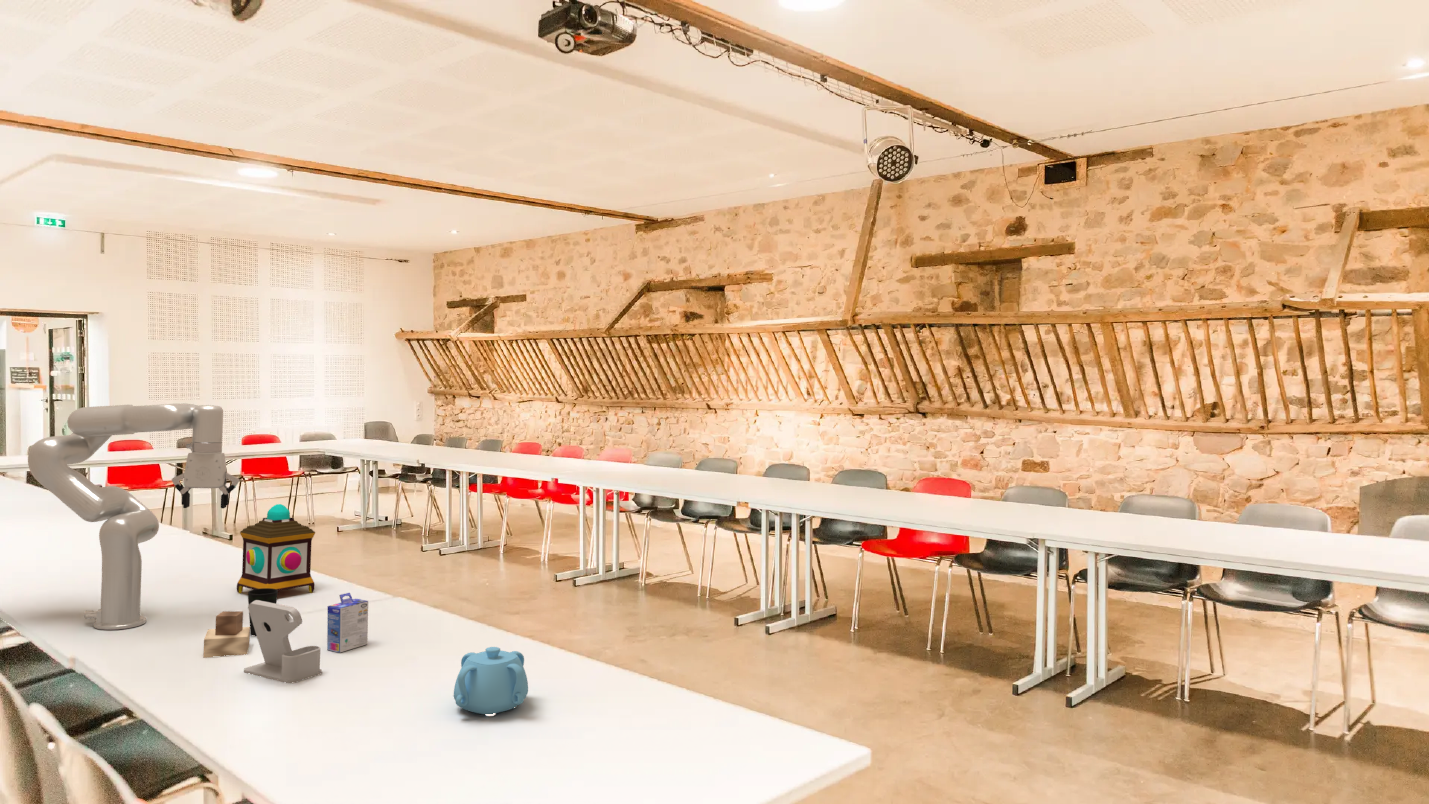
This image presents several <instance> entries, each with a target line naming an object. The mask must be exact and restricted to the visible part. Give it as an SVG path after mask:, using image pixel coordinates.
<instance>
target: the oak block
mask: <svg viewBox="0 0 1429 804" xmlns="http://www.w3.org/2000/svg"><path fill="white" fill-rule="evenodd" d="M215 629H216V628H210V629H207V631H206V633H205V636H204V638H203V655H202V656H203V658H205V659H207V658H214V657H213V656H220V657H227V656H226V655H234V656H243V655H244V654H245V655H246V654H247V655H248V653H247V652H249V647H250V641H251V640H250V638H251V637H250V636H251V634H250V626H243V630H242V631H240V632H239V633H238V634H237V635H215ZM224 655H225V656H224ZM247 655H246V656H247Z"/></svg>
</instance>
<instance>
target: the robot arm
mask: <svg viewBox="0 0 1429 804" xmlns="http://www.w3.org/2000/svg"><path fill="white" fill-rule="evenodd" d="M223 426H224V409H223V407H222V406H220V405H211V404H210V405H209V404H206V405H204V404H200V405H199V404H194V403H193V404H191V403H186V402H185V403H164V404H151V405H147V404H146V405H133V404H117V405H100V406H97V405H96V406H86V407H85V406H84V407H79V408H77V409H75V410H73V411H72V412H71V413H70V414H69V416H68V418H67V427H68V429H69V430H70V431H71V432H72V433H71V434H65V435H54V436H48V437H45V438H44V437H43V438H41V439H39V440H37V441H36V442H35V443H34V444H32V445H31V447H30V449H29V452H28V454H27V466H28V468H29V471H30V474H31V475H32V476H33V478H34V479H35V480H36V481H37V482H38V483H39V484H40V485H42V487H44V488H45V489H46V490H48V491H49V492H50V493H51V494H53V495H54V496H55V497H56V498H57V499H59V500H60V502H61V503H63V504H64V505H65V506H67V507H68V508H69V509H70V510H71V511H72V512H74V513H75V514H76V515H78V517H80V518H81V519H82V520H83V521H85V522H88V523H97V522H98V523H99V522H102V521H104V522H103V523H102V524H101V527H100V529H99V533H98V538H99V539H98V540H99V545H100V551H101V586H100V587H101V588H100V590H101V591H100V592H101V593H100V608H99V609H97V610H85V611H84V613H83V614H84V615H83V616H84V618H85V619H95V621H94V622H93V626H92V627H93V628H95V629H98V630H104V631H105V630H106V631H110V630H111V631H112V630H124V629H130V628H136V627H139V626H142V625H144V624H145V623H146V622H147V617H146V616H145V615H141V602H142V601H141V596H142V594H141V593H142V570H143V569H142V565H143V560H142V554H141V550H140V548H139V544H141V543H144V542H147V541H150V540H152V539H153V538H154V537H155V536H157V534H158V532H159V529H160V524H159V519H158V517H157V516H156V515H155V513H153V511H152V510H150V509H149V508H148V507H147V506H146V505H144V504H143V503H142V502H141V501H140V500H138V499H137V498H136V497H135V496H134V495H133V494H131V493H130V492H129V491H128V490H126V489H124V488H123V487H120V486H119V487H118V486H115V485H109V486H101V487H100V486H98V485H96V484H94V483H93V482H92V481H91V480H89V479H88V478H87V476H85V475H84V474H82V473H81V472H79V471H77V470H76V469H73V468H72V467H70V466H69V465H75V464H79V463H84V462H85V461H87V460H89V458H91V457H92V456H94V454H95V453H96V452H97V451H98V450H99V449H100V448H101V447H102V446H103V445H104V444H106V442H107V441H109V439H110V438H111V437H112V436H121V435H122V436H123V435H124V436H126V435H135V434H136V433H150V432H151V433H152V432H169V431H170V432H171V431H172V432H173V431H181V430H182V431H183V430H191V429H192V432H191V433H192V437H191V442H190V443H186V446H185V448H186V449H190V451H191V452H188V454H187V457H186V461H185V462H186V463H185V467H184V472H183V473H181V474H179V475H176V476H174V477H172V478H171V482H172V483H173V485H174V488H175V489H176V490H177V491H178V492H179V493H180V494H181V505H182V506H183V509H187V508H189V507H190V504H191V498H190V497H191V494H190V492H189V491H191V489H218V490H220V492H221V493H222V494H221V495H220V508H221V509H226V508H227V506H228V505H229V500H230V499H229V498H230V497H229V496H230V493H232V491H234V490H235V489H236V487H237V485H238V484H239V482H240V481H241V480H240V478H238V477H236V476H235V475H233V474H230V473H228V471H227V462H226V456H225V452H223ZM181 480H183V485H184V486H183V485H182V484H181V482H180V481H181ZM227 480H229V481H231V482H232V483H231V484H230V486H227Z"/></svg>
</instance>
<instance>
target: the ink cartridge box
mask: <svg viewBox="0 0 1429 804" xmlns="http://www.w3.org/2000/svg"><path fill="white" fill-rule="evenodd" d="M338 595H339V599H340V602H338V603H335V604H331V605H328V606H327V622H326V623H327V633H326V634H327V635H326V637H327V638H326V640H327V641H326V643H327V644H326V645H327V646H326V649H327V651H330V652H335V653H343V652H346V651H349V650H353V649H355V648H359V647H362V646H365V645H368V637H369V636H368V635H369V634H368V633H369V630H368V629H369V627H368V625H369V600H367V599H366V600H365V599H361V598H353V597H352V594H351V592H346V593H341V594H338ZM345 597H348V598H345ZM343 598H345V599H343Z"/></svg>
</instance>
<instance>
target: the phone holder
mask: <svg viewBox="0 0 1429 804" xmlns="http://www.w3.org/2000/svg"><path fill="white" fill-rule="evenodd" d="M247 609H248V614H249V613H250V616H251V619H252V622H253V626H254V629H255V632H256V635H257V636H256V638H257V641H258V645H259V648H260V651H261V654H262V658H263V660H264V662H260V663H258V664H254V665H251V666H247V667H245V668H244V669H243V673H245V674H248V673H250V674H249V675H252V674H253V676H255V677H256V676H257V677H260V676H261V678H264V679H268V680H272V679H273V681H277V682H282V683H284V682H286V683H285V684H293V683H292V682H295V683H297V681H298V682H300V680H301V681H303V680H302V679H304V680H306V678H307V679H309V678H308V677H310V678H312V677H311V676H313V677H315V675H316V676H319V675H321V674H322V671H323V670H322V669H321V647H320V646H317V645H307V646H304V647H299V648H297V649H294V650H293V649H292V647H291V642H290V640H289V635H291V633H293V631H295V630H296V629H297V628H298V627H299V626H300V625H302V624H303V619H302V618H303V617H302V615H301V613H300V611H299V609H297V608H296V607H293V606H289V605H285V604H279V603H276V604H275V603H270V602H265V601H260V600H255V601H253V602H252V603H250V604H248V605H247ZM264 622H266V623H267V624H268V625H269V626H270V628H271V632H268V631H267V629H266V628H265V626H264ZM320 673H321V674H320ZM318 674H319V675H318Z"/></svg>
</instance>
